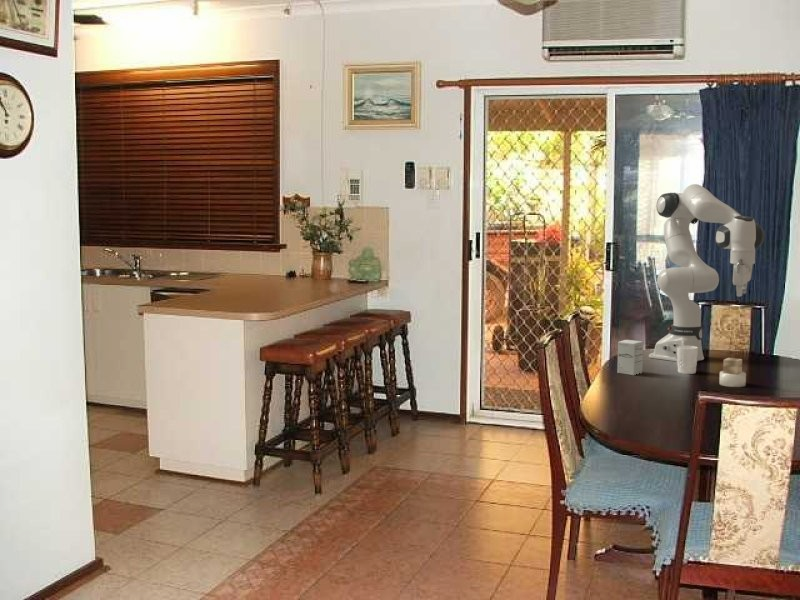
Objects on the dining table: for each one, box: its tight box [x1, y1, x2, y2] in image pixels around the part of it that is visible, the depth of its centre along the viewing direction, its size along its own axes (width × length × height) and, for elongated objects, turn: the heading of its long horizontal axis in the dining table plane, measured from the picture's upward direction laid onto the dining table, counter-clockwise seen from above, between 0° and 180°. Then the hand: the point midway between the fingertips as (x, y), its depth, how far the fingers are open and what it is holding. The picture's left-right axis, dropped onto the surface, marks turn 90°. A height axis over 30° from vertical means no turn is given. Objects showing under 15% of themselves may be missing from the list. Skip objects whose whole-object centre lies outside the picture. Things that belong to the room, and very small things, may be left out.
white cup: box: [676, 346, 698, 375], centre depth 343 cm, size 8×8×10 cm
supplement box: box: [617, 339, 644, 376], centre depth 344 cm, size 7×7×13 cm
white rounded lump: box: [718, 370, 747, 388], centre depth 321 cm, size 9×9×4 cm
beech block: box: [722, 357, 743, 375], centre depth 320 cm, size 5×5×5 cm
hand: (741, 295), depth 335 cm, fingers open, 8 cm apart
